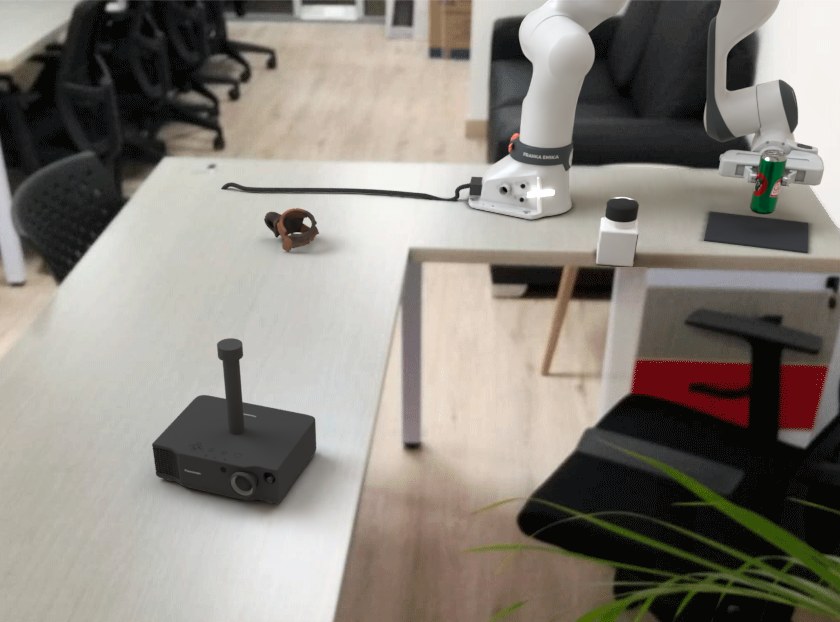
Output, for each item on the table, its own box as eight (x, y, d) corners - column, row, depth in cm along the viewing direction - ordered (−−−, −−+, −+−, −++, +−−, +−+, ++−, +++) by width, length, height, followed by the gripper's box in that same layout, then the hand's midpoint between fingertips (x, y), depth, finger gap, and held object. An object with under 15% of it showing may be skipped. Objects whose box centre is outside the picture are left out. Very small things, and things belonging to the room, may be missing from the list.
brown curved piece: (324, 237, 225) (326, 212, 218) (306, 271, 221) (308, 247, 214) (271, 217, 226) (271, 191, 219) (253, 251, 222) (253, 226, 215)
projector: (149, 488, 152) (131, 363, 140) (202, 428, 165) (190, 309, 153) (273, 516, 147) (265, 389, 135) (318, 452, 159) (315, 330, 147)
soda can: (771, 217, 219) (784, 158, 211) (746, 212, 221) (758, 154, 214) (777, 209, 222) (791, 151, 215) (752, 204, 224) (765, 147, 217)
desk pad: (703, 240, 221) (704, 239, 221) (710, 212, 233) (710, 211, 233) (807, 253, 215) (807, 251, 215) (808, 223, 227) (808, 222, 227)
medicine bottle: (633, 267, 210) (642, 208, 203) (596, 264, 212) (604, 205, 204) (632, 253, 216) (641, 194, 209) (596, 250, 217) (604, 192, 210)
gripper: (723, 138, 228) (718, 160, 218) (826, 148, 222) (826, 170, 212) (717, 168, 232) (712, 190, 221) (818, 178, 226) (818, 201, 216)
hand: (769, 180), depth 217 cm, fingers closed on soda can, 5 cm apart
